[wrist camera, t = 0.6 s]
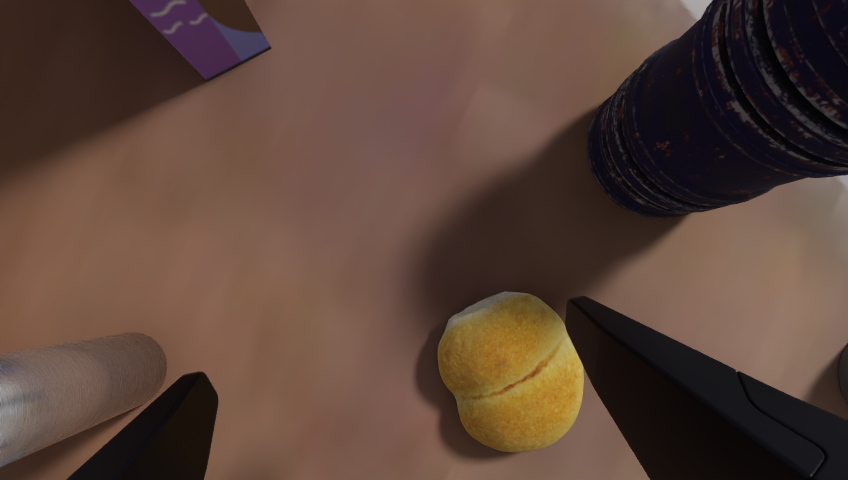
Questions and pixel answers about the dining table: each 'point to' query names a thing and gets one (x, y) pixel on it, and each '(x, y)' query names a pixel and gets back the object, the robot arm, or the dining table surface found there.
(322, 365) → the dining table surface
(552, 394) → the bread roll
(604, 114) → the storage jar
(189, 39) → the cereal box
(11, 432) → the tall grey cylinder
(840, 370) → the candle holder
